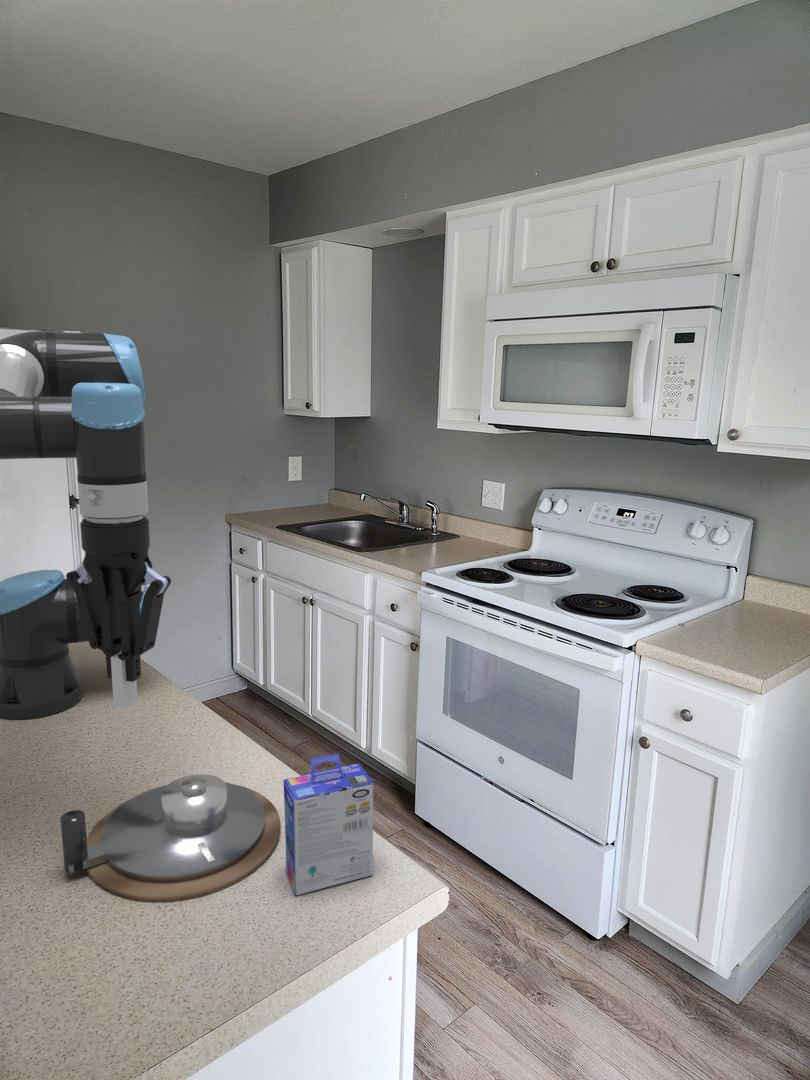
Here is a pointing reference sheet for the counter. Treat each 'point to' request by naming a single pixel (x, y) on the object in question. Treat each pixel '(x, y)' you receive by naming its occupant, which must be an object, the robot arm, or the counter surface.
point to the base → (193, 887)
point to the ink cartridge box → (328, 826)
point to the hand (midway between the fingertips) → (125, 703)
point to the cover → (194, 805)
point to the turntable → (163, 839)
